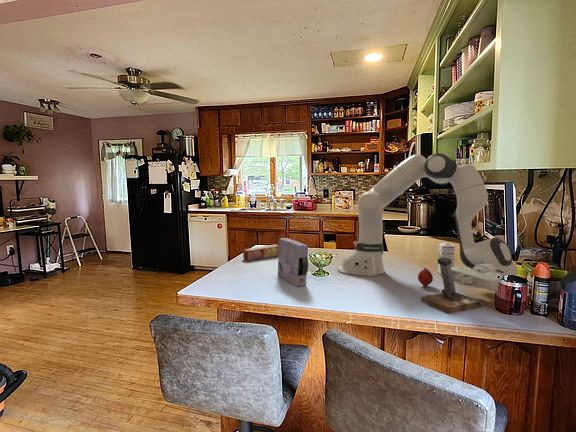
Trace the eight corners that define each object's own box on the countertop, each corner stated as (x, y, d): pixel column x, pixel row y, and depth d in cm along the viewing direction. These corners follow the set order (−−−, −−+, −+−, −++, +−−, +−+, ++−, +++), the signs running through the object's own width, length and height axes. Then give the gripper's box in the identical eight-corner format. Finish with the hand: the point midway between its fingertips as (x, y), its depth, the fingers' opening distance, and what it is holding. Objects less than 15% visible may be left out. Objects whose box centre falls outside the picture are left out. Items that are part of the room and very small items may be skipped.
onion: (420, 283, 145) (421, 265, 145) (434, 285, 142) (435, 267, 141) (415, 286, 141) (416, 267, 140) (429, 289, 137) (430, 270, 136)
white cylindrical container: (453, 276, 156) (455, 245, 154) (440, 275, 157) (441, 245, 155) (450, 273, 161) (452, 243, 160) (437, 272, 162) (439, 242, 161)
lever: (449, 294, 123) (442, 256, 120) (458, 297, 120) (450, 259, 116) (444, 297, 122) (437, 259, 119) (453, 300, 119) (445, 261, 115)
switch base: (452, 295, 130) (453, 284, 129) (481, 306, 119) (482, 294, 118) (420, 301, 123) (421, 289, 123) (448, 313, 113) (448, 300, 112)
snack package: (247, 261, 181) (247, 249, 181) (242, 259, 187) (242, 247, 186) (280, 256, 194) (280, 245, 193) (274, 254, 199) (274, 243, 198)
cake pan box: (308, 286, 141) (309, 244, 139) (298, 288, 138) (299, 245, 136) (286, 274, 157) (286, 237, 155) (277, 276, 155) (277, 238, 153)
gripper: (461, 261, 136) (435, 264, 130) (512, 274, 117) (484, 279, 112) (460, 276, 137) (434, 280, 131) (510, 292, 118) (483, 297, 112)
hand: (458, 280), depth 121 cm, fingers closed
